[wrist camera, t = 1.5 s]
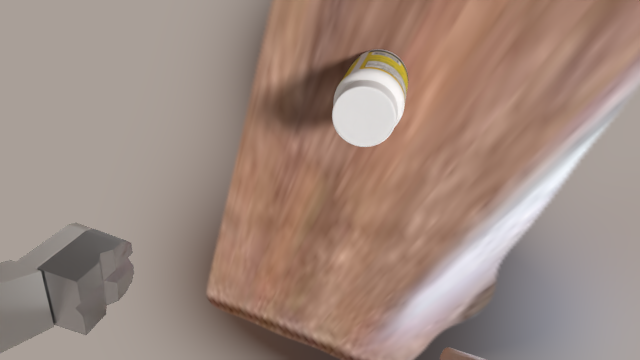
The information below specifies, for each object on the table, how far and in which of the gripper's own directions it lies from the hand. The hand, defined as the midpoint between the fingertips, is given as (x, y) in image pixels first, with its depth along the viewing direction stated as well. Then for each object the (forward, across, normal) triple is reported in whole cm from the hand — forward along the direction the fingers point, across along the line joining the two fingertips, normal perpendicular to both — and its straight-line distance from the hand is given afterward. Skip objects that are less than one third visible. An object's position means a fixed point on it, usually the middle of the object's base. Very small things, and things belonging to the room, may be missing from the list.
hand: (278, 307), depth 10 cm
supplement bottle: (+25, 0, 0) cm, 25 cm away
